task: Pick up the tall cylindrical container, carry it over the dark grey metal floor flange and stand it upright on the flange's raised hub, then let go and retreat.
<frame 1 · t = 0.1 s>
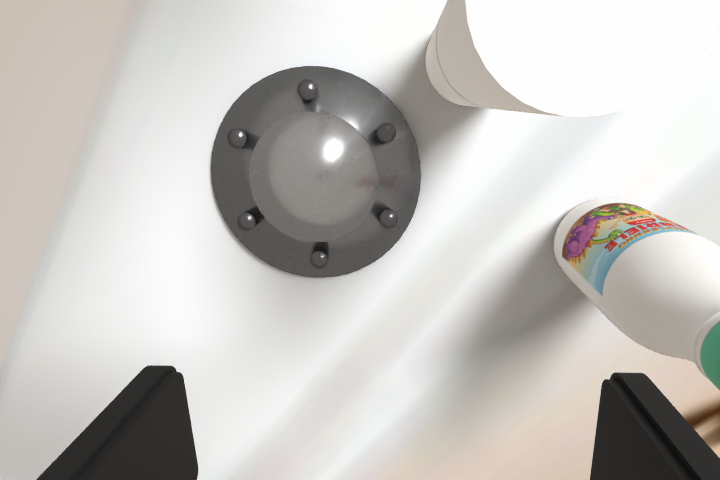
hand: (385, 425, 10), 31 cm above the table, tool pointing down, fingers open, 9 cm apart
cylindrical container: (471, 58, 37), on the table
flange: (315, 177, 41), on the table
milk bottle: (597, 239, 40), on the table
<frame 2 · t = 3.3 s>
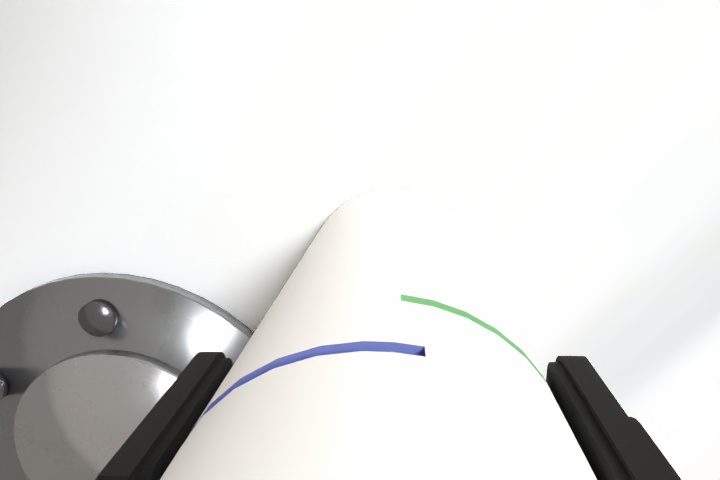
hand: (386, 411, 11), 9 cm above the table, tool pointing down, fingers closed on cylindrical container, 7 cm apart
cylindrical container: (393, 269, 20), on the table, touching gripper
flange: (137, 440, 24), on the table
when the fingers open (11 cm above the table, at t = 9.8 s): cylindrical container stays where it is, resting on flange.
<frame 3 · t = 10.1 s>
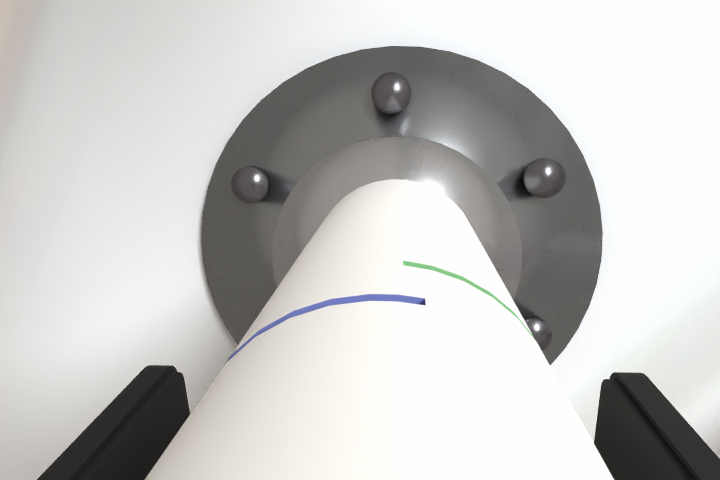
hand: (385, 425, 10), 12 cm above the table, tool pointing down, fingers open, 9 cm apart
cylindrical container: (395, 258, 21), point 1 cm above the table, touching flange
flange: (394, 255, 22), on the table
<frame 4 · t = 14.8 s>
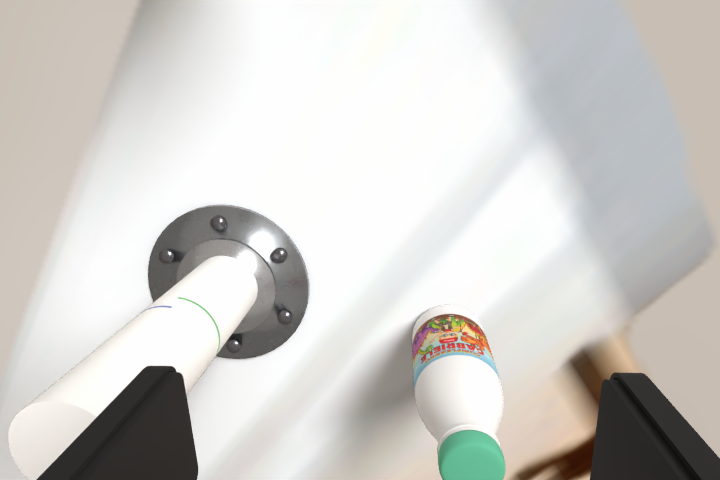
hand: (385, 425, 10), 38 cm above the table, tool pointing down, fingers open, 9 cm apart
cylindrical container: (226, 286, 51), point 1 cm above the table, touching flange
flange: (229, 284, 52), on the table
milk bottle: (447, 333, 52), on the table
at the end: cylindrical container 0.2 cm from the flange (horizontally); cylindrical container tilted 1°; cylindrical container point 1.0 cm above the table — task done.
